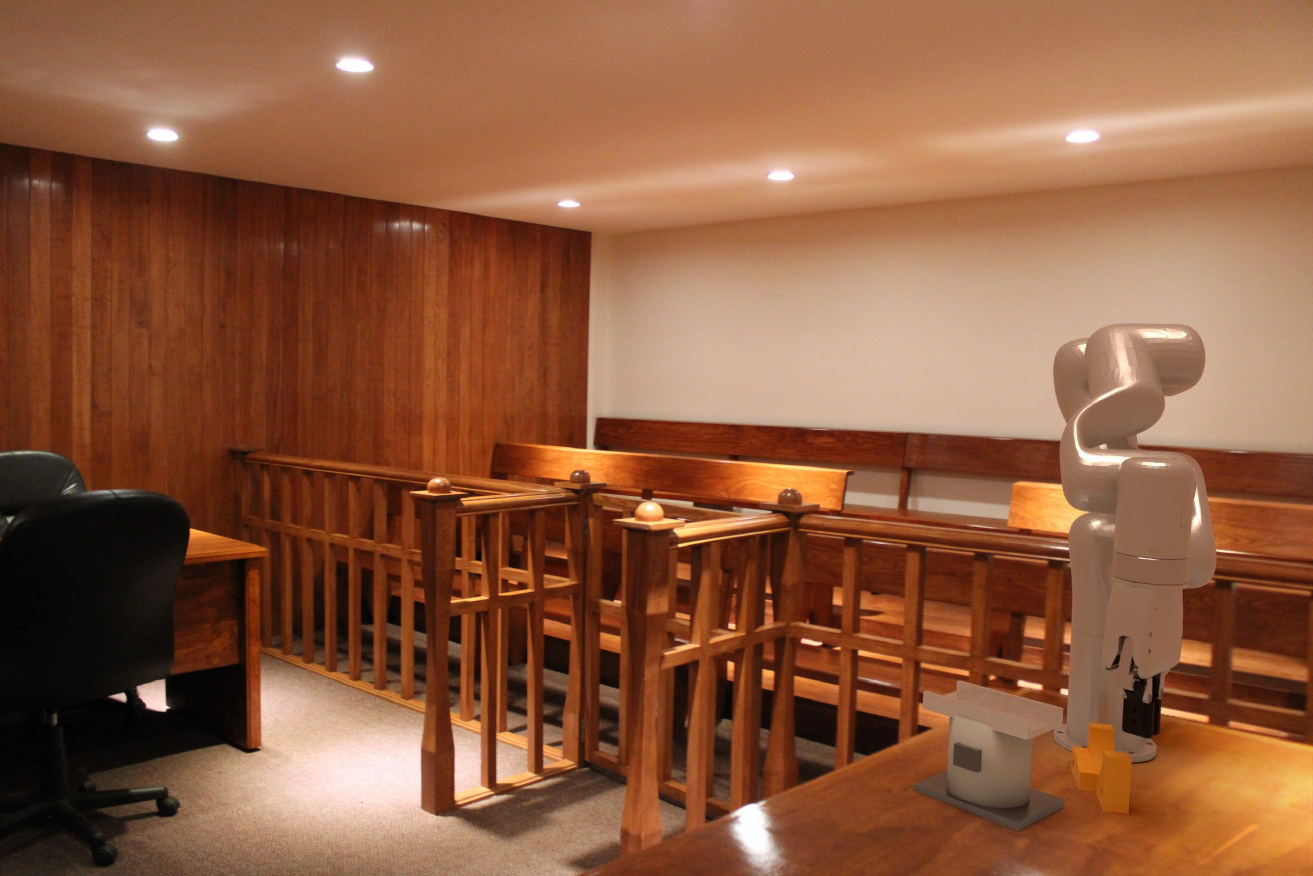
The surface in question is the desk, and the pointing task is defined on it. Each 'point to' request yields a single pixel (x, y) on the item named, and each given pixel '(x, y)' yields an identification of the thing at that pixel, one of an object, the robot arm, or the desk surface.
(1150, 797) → the desk surface
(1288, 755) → the desk surface
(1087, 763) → the pipe clamp
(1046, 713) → the cylinder with tray top
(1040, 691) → the desk surface
